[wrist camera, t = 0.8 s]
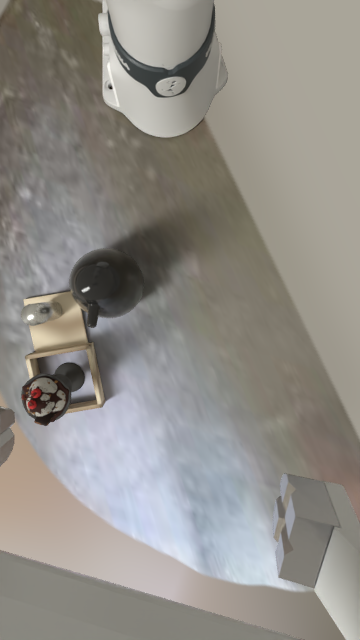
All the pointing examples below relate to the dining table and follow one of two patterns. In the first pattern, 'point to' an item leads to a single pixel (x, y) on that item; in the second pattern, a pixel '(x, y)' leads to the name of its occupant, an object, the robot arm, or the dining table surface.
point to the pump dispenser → (106, 284)
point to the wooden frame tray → (60, 337)
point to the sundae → (51, 393)
